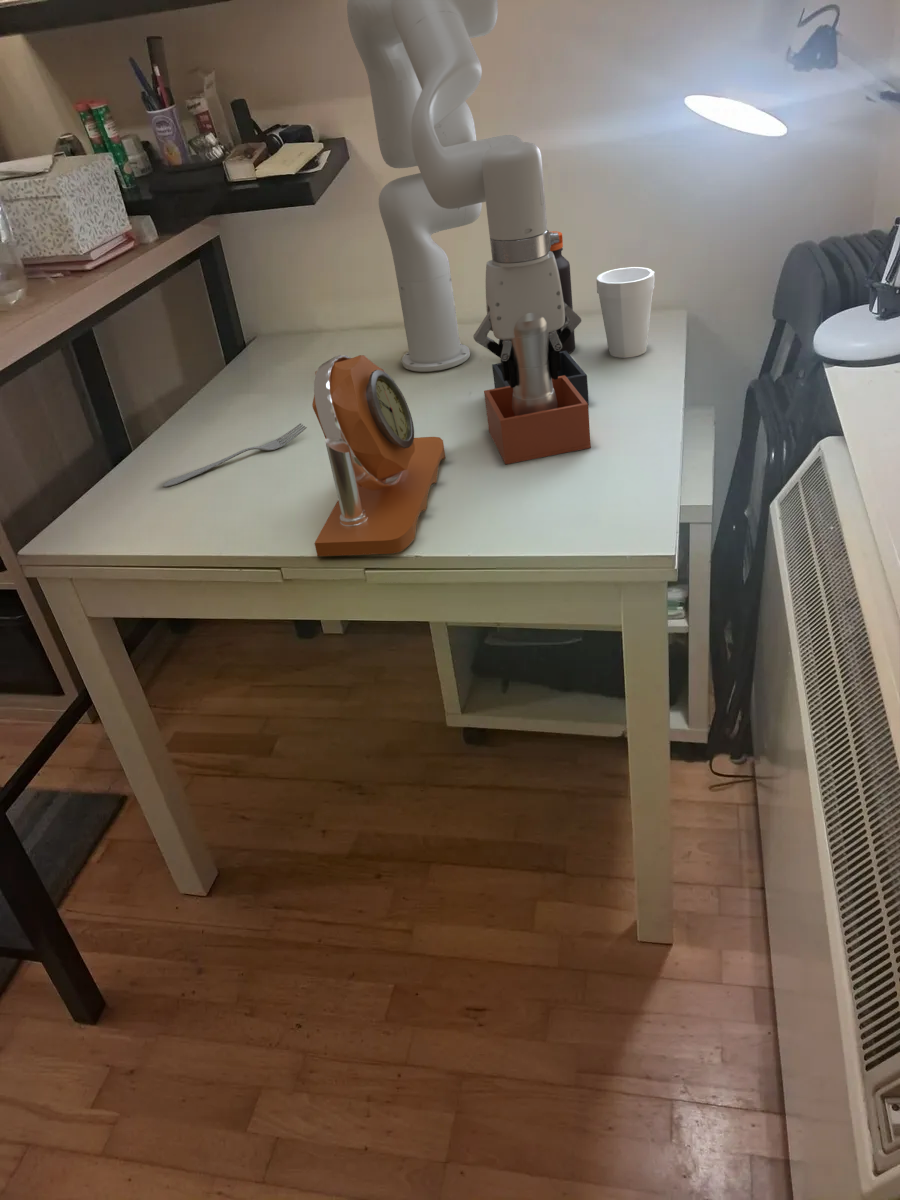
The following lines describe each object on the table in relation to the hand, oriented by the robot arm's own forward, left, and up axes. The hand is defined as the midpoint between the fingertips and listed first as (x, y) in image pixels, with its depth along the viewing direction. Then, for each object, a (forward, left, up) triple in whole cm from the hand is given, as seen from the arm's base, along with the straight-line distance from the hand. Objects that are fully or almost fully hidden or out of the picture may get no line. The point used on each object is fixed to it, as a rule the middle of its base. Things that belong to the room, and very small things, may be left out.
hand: (532, 379), depth 132 cm
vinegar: (-36, +12, -9) cm, 39 cm away
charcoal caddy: (-15, +4, -9) cm, 18 cm away
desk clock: (+10, -23, -9) cm, 27 cm away
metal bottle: (0, 0, -7) cm, 7 cm away
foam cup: (-29, +23, -9) cm, 38 cm away
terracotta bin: (0, 0, -9) cm, 9 cm away
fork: (-14, -45, -9) cm, 48 cm away
